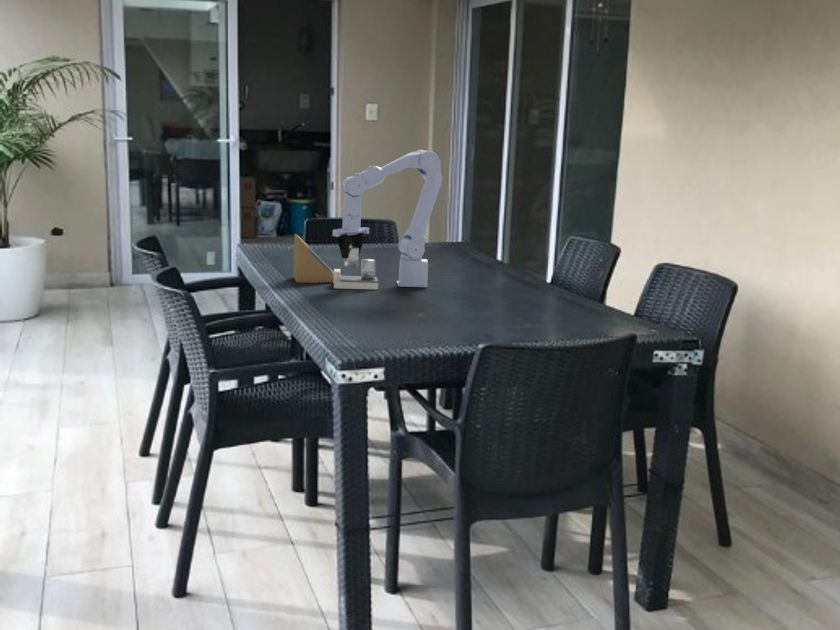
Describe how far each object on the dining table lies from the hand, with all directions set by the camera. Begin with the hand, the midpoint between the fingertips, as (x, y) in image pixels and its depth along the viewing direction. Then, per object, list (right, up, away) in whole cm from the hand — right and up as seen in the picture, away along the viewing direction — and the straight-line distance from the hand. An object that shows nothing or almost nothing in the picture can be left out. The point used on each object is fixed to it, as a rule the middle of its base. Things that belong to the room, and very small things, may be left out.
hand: (350, 257), depth 280 cm
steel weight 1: (0, -3, 0) cm, 3 cm away
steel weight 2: (+6, -7, +2) cm, 9 cm away
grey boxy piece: (+1, -9, +2) cm, 10 cm away
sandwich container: (-11, -7, +9) cm, 16 cm away
